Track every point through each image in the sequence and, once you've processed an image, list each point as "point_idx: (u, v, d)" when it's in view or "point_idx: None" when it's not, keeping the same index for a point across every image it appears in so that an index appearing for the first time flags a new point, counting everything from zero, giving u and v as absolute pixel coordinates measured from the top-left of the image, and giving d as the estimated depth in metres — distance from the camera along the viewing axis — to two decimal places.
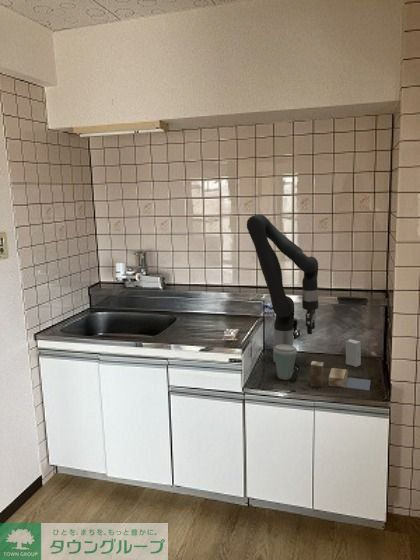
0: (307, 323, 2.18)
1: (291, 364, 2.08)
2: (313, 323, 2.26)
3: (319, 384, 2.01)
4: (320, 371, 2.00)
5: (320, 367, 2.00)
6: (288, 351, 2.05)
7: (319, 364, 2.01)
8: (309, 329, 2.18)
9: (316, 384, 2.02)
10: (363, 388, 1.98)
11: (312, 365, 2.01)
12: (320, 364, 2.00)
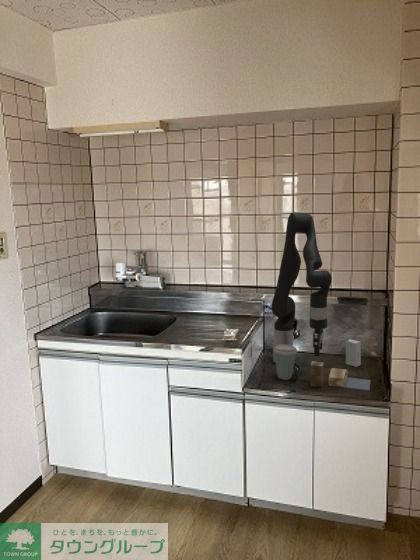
0: (314, 344, 1.96)
1: (291, 364, 2.08)
2: (320, 343, 2.04)
3: (319, 384, 2.01)
4: (320, 371, 2.00)
5: (320, 367, 2.00)
6: (288, 351, 2.05)
7: (319, 364, 2.01)
8: (316, 350, 1.96)
9: (316, 384, 2.02)
10: (363, 388, 1.98)
11: (312, 365, 2.01)
12: (320, 364, 2.00)
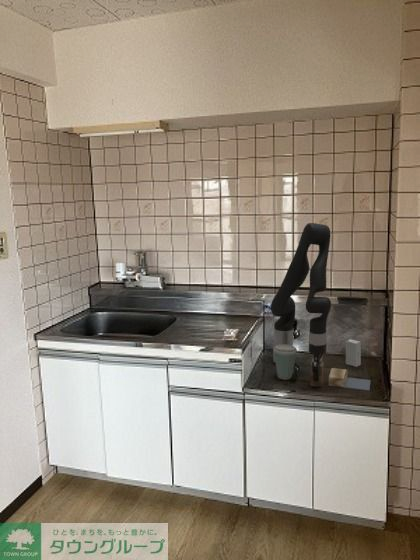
0: (314, 370, 2.00)
1: (291, 364, 2.08)
2: None
3: (319, 384, 2.01)
4: (320, 371, 2.00)
5: (320, 367, 2.00)
6: (288, 351, 2.05)
7: None
8: (316, 376, 2.00)
9: (316, 384, 2.02)
10: (363, 388, 1.98)
11: None
12: None
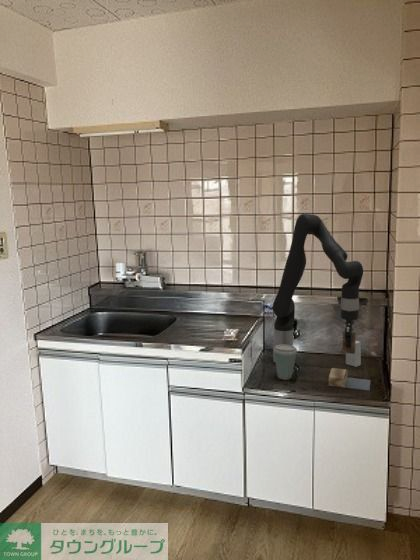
0: None
1: (291, 364, 2.08)
2: None
3: (352, 351, 1.98)
4: (353, 337, 1.97)
5: (353, 333, 1.97)
6: (288, 351, 2.05)
7: None
8: (348, 342, 1.97)
9: (348, 351, 1.99)
10: (363, 388, 1.98)
11: (344, 331, 1.98)
12: None
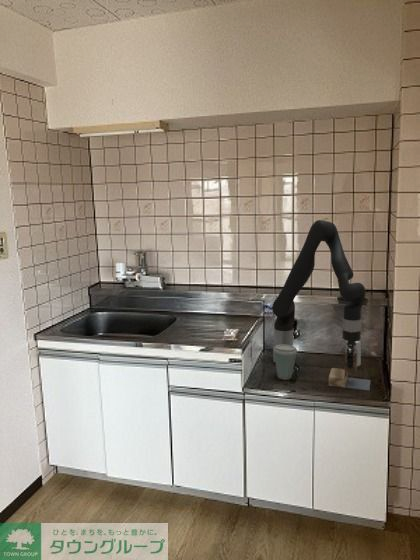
0: (348, 357, 1.99)
1: (291, 364, 2.08)
2: None
3: (354, 371, 2.01)
4: (354, 358, 2.00)
5: None
6: (288, 351, 2.05)
7: (353, 351, 2.00)
8: (350, 363, 1.99)
9: (350, 371, 2.01)
10: (363, 388, 1.98)
11: None
12: None
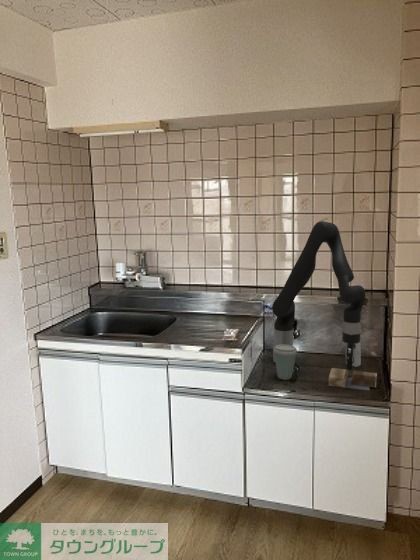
0: None
1: (291, 364, 2.08)
2: (352, 357, 2.06)
3: (354, 383, 2.02)
4: (369, 385, 1.99)
5: (373, 385, 1.99)
6: (288, 351, 2.05)
7: None
8: (349, 365, 1.98)
9: (354, 379, 2.01)
10: (363, 388, 1.98)
11: (375, 378, 1.98)
12: None
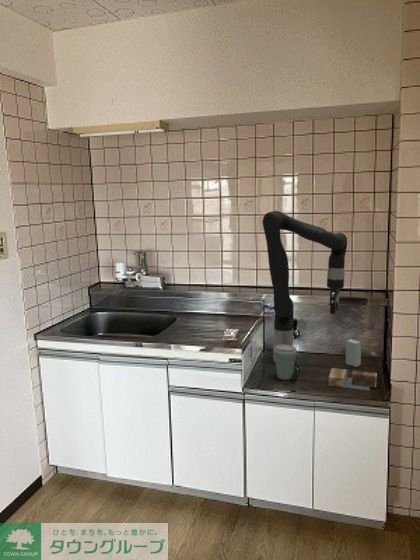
0: (331, 302, 2.08)
1: (291, 364, 2.08)
2: (336, 303, 2.15)
3: (354, 383, 2.02)
4: (369, 385, 1.99)
5: (373, 385, 1.99)
6: (288, 351, 2.05)
7: None
8: (333, 309, 2.07)
9: (354, 379, 2.01)
10: (363, 388, 1.98)
11: (375, 378, 1.98)
12: None
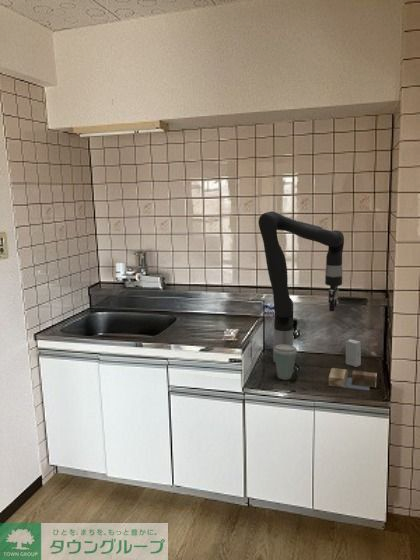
0: (330, 299, 2.09)
1: (291, 364, 2.08)
2: (335, 300, 2.17)
3: (354, 383, 2.02)
4: (369, 385, 1.99)
5: (373, 385, 1.99)
6: (288, 351, 2.05)
7: None
8: (332, 306, 2.09)
9: (354, 379, 2.01)
10: (363, 388, 1.98)
11: (375, 378, 1.98)
12: None
